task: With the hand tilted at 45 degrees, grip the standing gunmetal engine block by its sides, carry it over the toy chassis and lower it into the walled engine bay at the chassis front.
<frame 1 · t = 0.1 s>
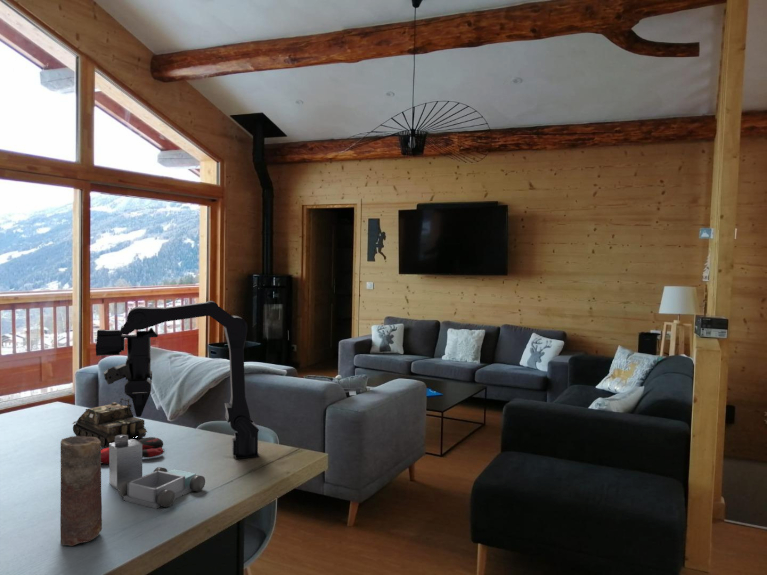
hand: (139, 412, 157), 15 cm above the table, tool pointing down, fingers open, 9 cm apart
engine block: (125, 483, 145), on the table
model tank: (110, 438, 182), on the table
chassis: (156, 496, 138), on the table
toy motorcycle: (116, 460, 163), on the table
candle: (81, 539, 117), on the table
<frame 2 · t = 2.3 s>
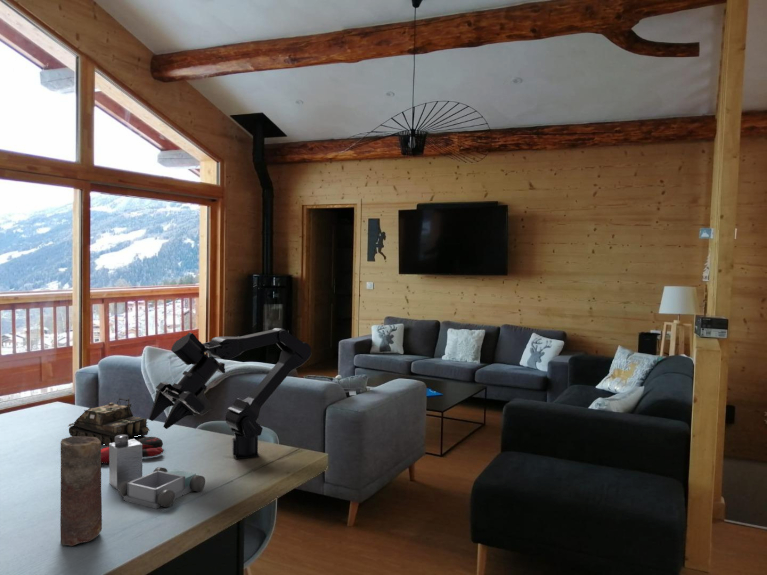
hand: (157, 423, 150), 13 cm above the table, tool tilted 45°, fingers open, 9 cm apart
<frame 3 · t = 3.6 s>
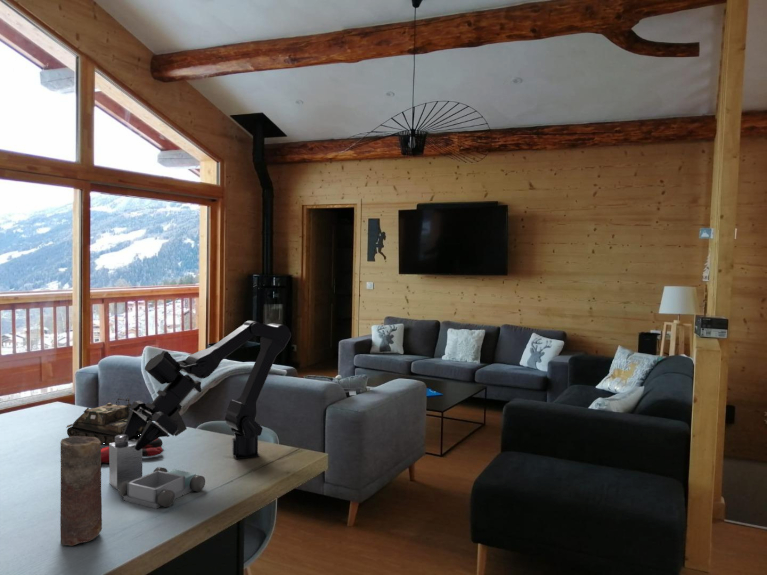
hand: (129, 445, 145), 9 cm above the table, tool tilted 45°, fingers open, 9 cm apart
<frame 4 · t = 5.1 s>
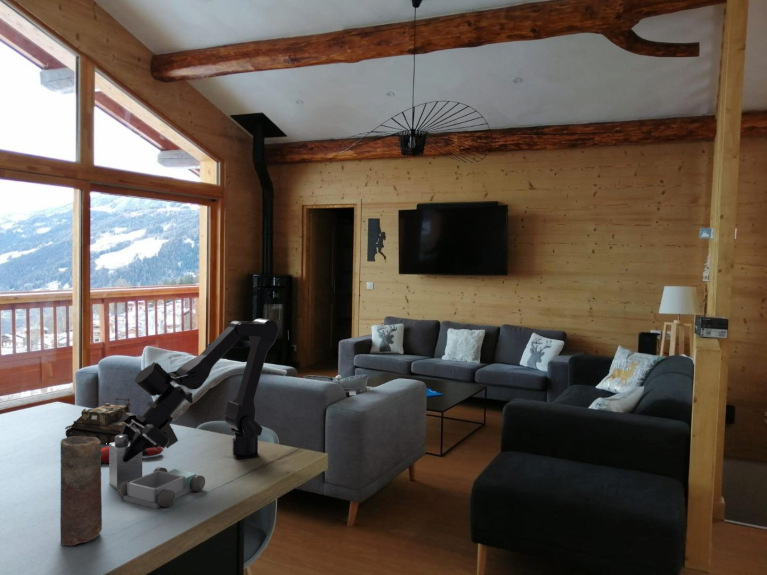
hand: (119, 458, 144), 7 cm above the table, tool tilted 45°, fingers closed on engine block, 5 cm apart
engine block: (125, 483, 145), on the table, touching gripper
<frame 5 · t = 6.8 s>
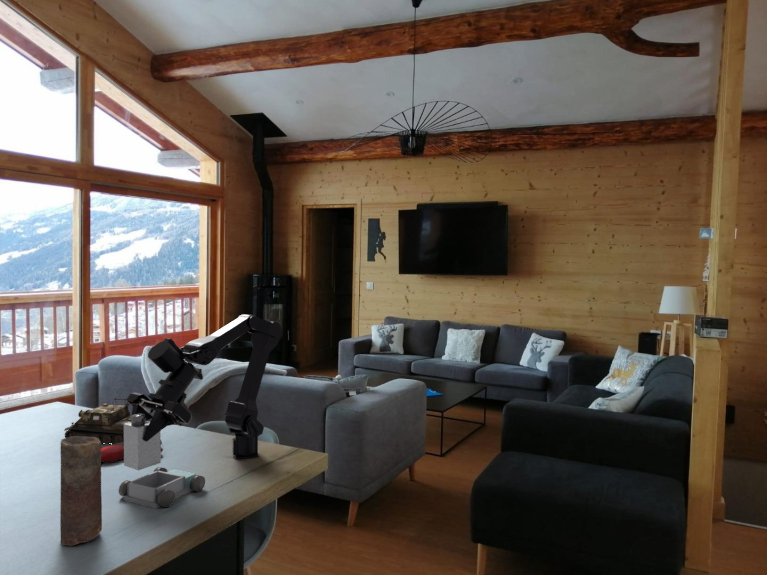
hand: (137, 438, 138), 13 cm above the table, tool tilted 45°, fingers closed on engine block, 5 cm apart
engine block: (142, 464, 140), point 7 cm above the table, touching gripper
when the fingers open (9 cm above the table, at t = 8.7 s): engine block drops 1 cm, resting on chassis.
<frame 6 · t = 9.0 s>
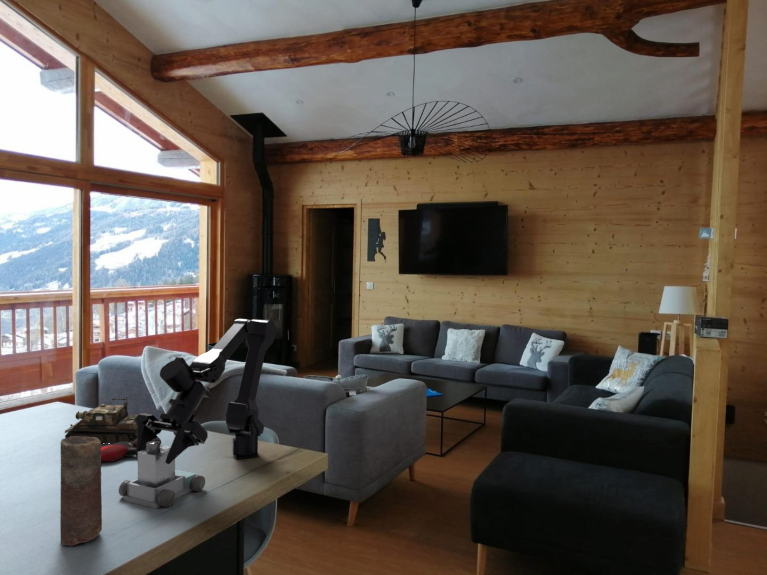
hand: (151, 460, 136), 9 cm above the table, tool tilted 45°, fingers open, 9 cm apart
engine block: (156, 492, 138), point 1 cm above the table, touching chassis
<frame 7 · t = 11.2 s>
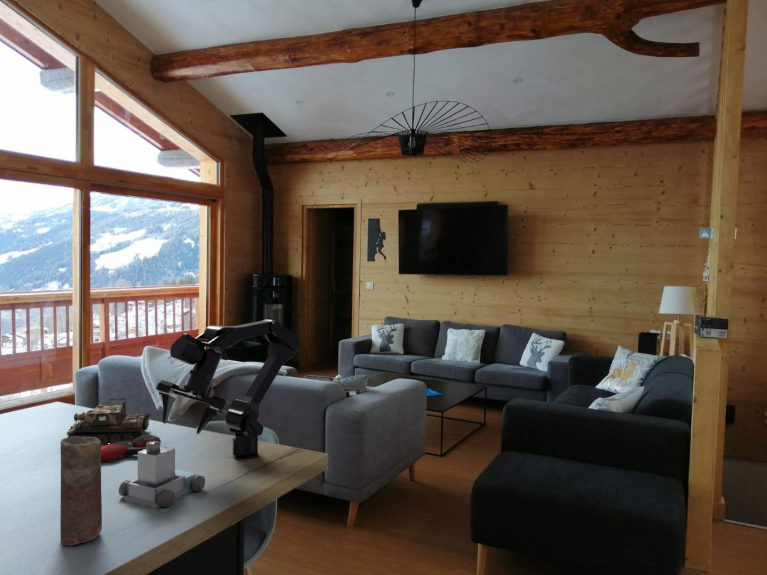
hand: (180, 428, 151), 12 cm above the table, tool tilted 25°, fingers open, 9 cm apart
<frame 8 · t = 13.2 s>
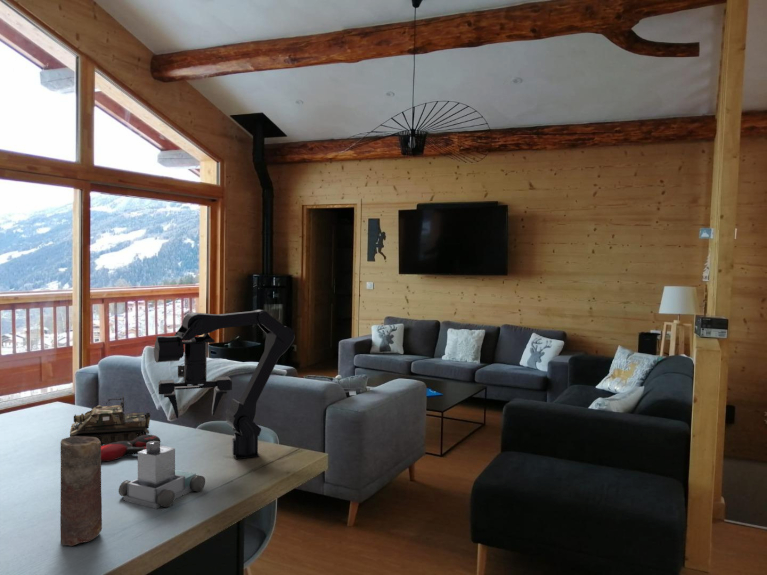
hand: (195, 416, 159), 13 cm above the table, tool pointing down, fingers open, 9 cm apart
at the end: engine block 0.0 cm off-centre on the chassis, point 1.0 cm above the chassis's base; engine block tilted 0°; the gripper is holding nothing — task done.
